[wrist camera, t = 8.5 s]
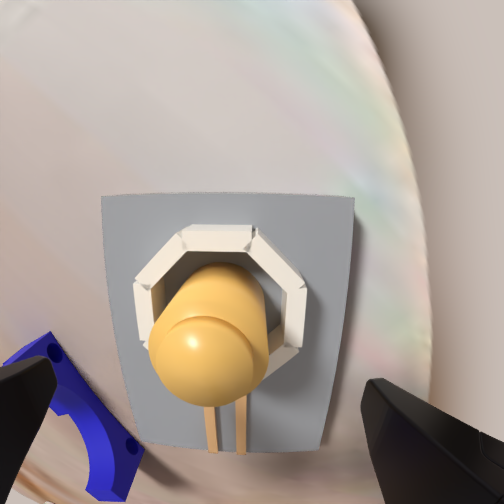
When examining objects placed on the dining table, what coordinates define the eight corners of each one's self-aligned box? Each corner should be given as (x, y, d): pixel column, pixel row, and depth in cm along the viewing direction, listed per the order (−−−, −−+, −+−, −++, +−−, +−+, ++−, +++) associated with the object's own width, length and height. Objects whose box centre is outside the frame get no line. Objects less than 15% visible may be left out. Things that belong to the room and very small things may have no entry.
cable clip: (23, 346, 18) (-21, 383, 12) (51, 330, 17) (2, 370, 11) (109, 453, 20) (87, 500, 14) (145, 447, 19) (125, 501, 14)
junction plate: (314, 430, 18) (322, 471, 14) (148, 423, 18) (133, 460, 15) (342, 196, 15) (370, 199, 11) (118, 195, 15) (80, 198, 11)
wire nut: (264, 339, 15) (268, 418, 9) (184, 338, 15) (152, 412, 9) (264, 261, 14) (270, 310, 8) (178, 261, 14) (131, 308, 8)
